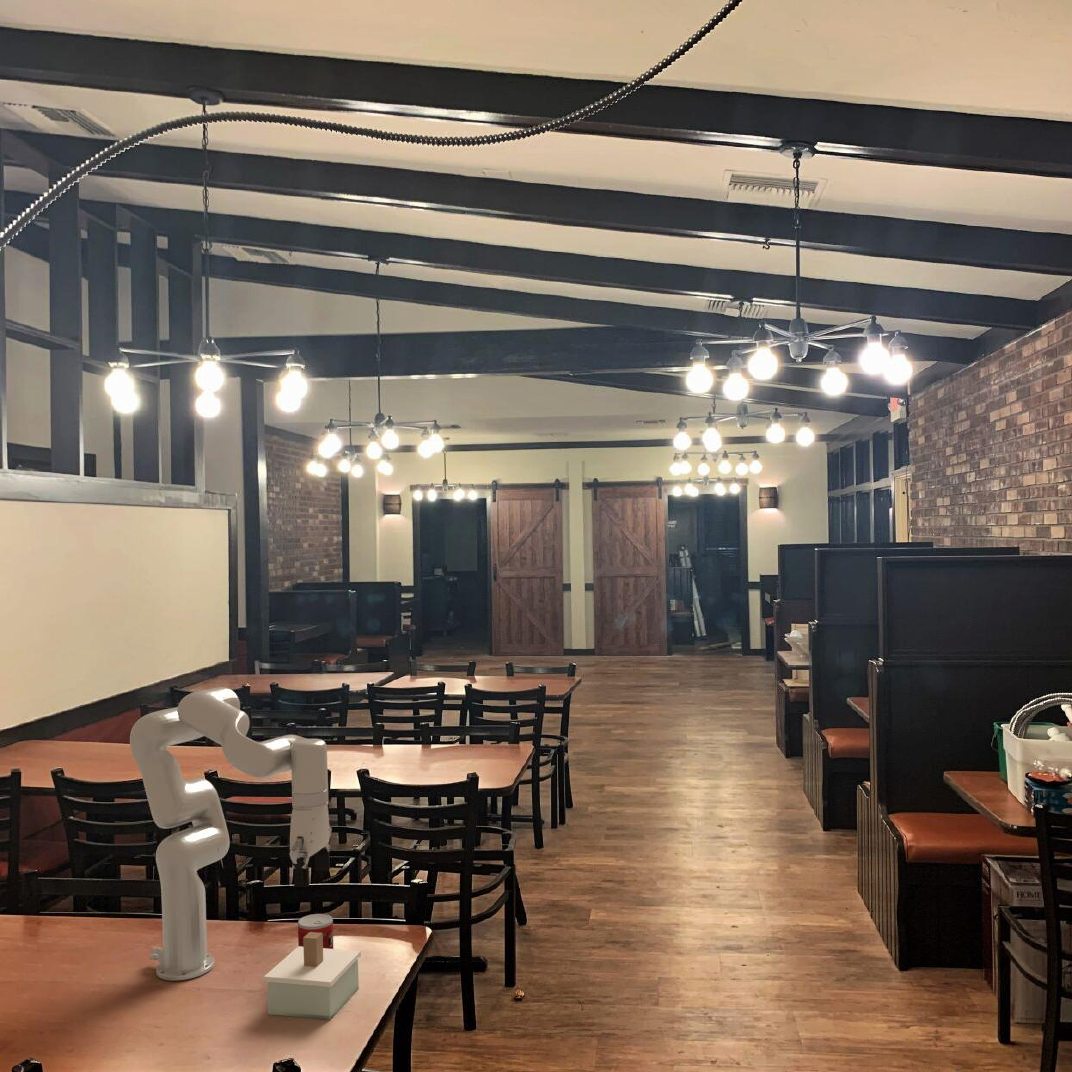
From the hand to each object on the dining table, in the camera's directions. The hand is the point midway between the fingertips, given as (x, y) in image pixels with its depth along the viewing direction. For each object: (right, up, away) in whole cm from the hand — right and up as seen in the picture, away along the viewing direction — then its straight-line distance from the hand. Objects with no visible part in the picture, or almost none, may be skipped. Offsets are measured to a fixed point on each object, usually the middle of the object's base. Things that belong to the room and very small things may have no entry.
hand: (312, 878), depth 205 cm
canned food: (-3, -27, +16) cm, 31 cm away
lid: (0, -19, 0) cm, 19 cm away
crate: (+1, -26, 0) cm, 26 cm away
